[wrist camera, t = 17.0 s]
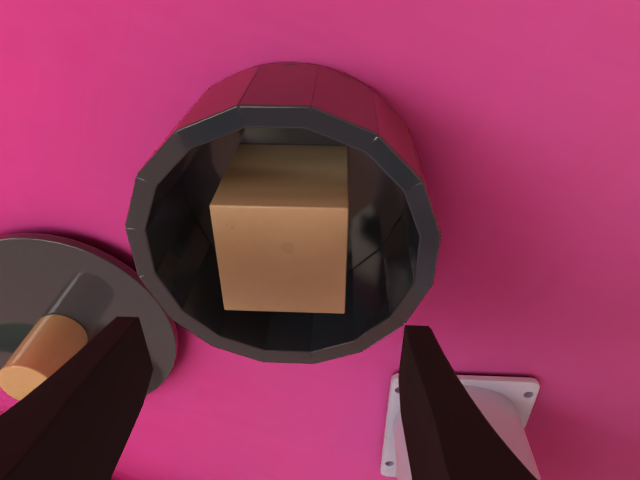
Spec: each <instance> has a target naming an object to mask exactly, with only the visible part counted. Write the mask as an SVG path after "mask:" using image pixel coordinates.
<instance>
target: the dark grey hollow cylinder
mask: <svg viewBox="0 0 640 480" xmlns="http://www.w3.org/2000/svg"><path fill="white" fill-rule="evenodd" d="M239 144H259V145H315V146H348V166H349V217H348V243H347V270H346V296H345V313H344V314H339V313H307V312H274V311H242V310H225V309H224V304H223V297H222V290H221V283H220V276H219V269H218V262H217V255H216V249H215V242H214V235H213V228H212V221H211V214H210V207H209V206H210V203H211V201H212V199H213V197H214V195H215V193H216V191H217V189H218V186H219V184H220V182H221V180H222V178H223V176H224V174H225V172H226V170H227V167H228V165H229V163H230V161H231V159H232V157H233V155H234V153H235V151H236V149H237V146H238V145H239ZM126 232H127V236H128V240H129V244H130V248H131V251H132V255H133V259H134V263H135V267H136V270H137V274H138V276H139V278H140V280H141V281H142V282H143V283H144V285H145V286H146V287H147V289H148V290H149V291H150V293H151V294H152V295H153V297H154V298H155V299H156V300H157V302H158V303H159V304H160V306H161V307H162V308H163V310H164V311H165V312H166V314H167V315H168V316H170V318H171V319H172V320H174V321H175V322H177V323H178V324H180V325H181V326H183V327H184V328H186V329H187V330H188V331H190V332H191V333H193V334H194V335H196V336H197V337H199V338H200V339H202V340H203V341H205V342H206V343H208V344H209V345H211V346H213V347H216V348H219V349H223V350H226V351H229V352H232V353H235V354H238V355H242V356H245V357H248V358H251V359H254V360H257V361H262V362H274V363H302V364H313V363H314V364H316V363H319V362H323V361H327V360H331V359H335V358H339V357H343V356H347V355H351V354H355V353H359V352H362V351H363V350H365V349H367V348H369V347H370V346H372V345H373V344H375V343H376V342H378V341H379V340H381V339H383V338H384V337H386V336H387V335H389V334H390V333H392V332H394V331H395V330H397V329H398V328H400V327H401V326H403V325H404V324H405V323H406V322H407V320H408V319H409V317H410V316H411V315H412V313H413V312H414V310H415V309H416V307H417V306H418V305H419V303H420V302H421V300H422V299H423V298H424V296H425V295H426V293H427V292H428V291H429V289H430V288H431V286H432V285H433V282H434V276H435V270H436V264H437V258H438V252H439V246H440V240H441V232H440V228H439V225H438V221H437V218H436V215H435V211H434V208H433V205H432V201H431V198H430V195H429V191H428V188H427V184H426V181H425V178H424V174H423V171H422V168H421V165H420V162H419V159H418V156H417V153H416V150H415V147H414V144H413V141H412V138H411V134H410V131H409V129H408V128H407V126H406V125H405V124H404V123H403V122H402V120H401V119H400V117H399V116H398V115H397V114H396V112H395V111H394V110H393V109H392V107H391V106H390V105H389V104H388V103H387V102H386V101H385V100H384V99H383V98H382V97H381V96H380V95H378V94H377V93H376V92H375V91H374V90H372V89H371V88H370V87H368V86H366V85H365V84H364V83H362V82H360V81H358V80H356V79H354V78H353V77H351V76H349V75H347V74H345V73H342V72H339V71H336V70H334V69H331V68H328V67H323V66H319V65H314V64H310V63H297V62H282V63H270V64H265V65H258V66H255V67H252V68H249V69H246V70H243V71H240V72H237V73H235V74H234V75H232V76H230V77H228V78H226V79H224V80H222V81H221V82H219V83H217V84H214V85H212V86H211V87H210V88H208V90H207V91H206V92H205V93H204V94H203V95H202V96H201V98H200V99H199V100H198V101H197V102H196V103H195V104H194V106H193V107H192V108H191V109H190V110H189V111H188V113H187V114H186V115H185V116H184V117H183V118H182V119H181V121H180V122H179V123H178V124H177V125H176V127H175V128H174V129H173V130H172V131H171V133H170V134H169V135H168V136H167V138H166V139H165V140H164V141H163V142H162V144H161V145H160V146H159V147H158V149H157V150H156V151H155V152H154V154H153V155H152V156H151V157H150V158H149V160H148V161H147V162H146V163H145V165H144V166H143V167H142V168H141V169H140V171H139V172H138V174H137V176H136V179H135V184H134V188H133V193H132V197H131V202H130V206H129V211H128V215H127V220H126Z"/></svg>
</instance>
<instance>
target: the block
mask: <svg viewBox="0 0 640 480" xmlns="http://www.w3.org/2000/svg"><path fill="white" fill-rule="evenodd" d="M209 207H210V214H211V221H212V228H213V235H214V242H215V249H216V255H217V262H218V269H219V276H220V283H221V290H222V297H223V304H224V309H225V310H242V311H274V312H307V313H339V314H344V313H345V296H346V270H347V243H348V217H349V166H348V146H315V145H259V144H239V145H238V146H237V149H236V151H235V153H234V155H233V157H232V159H231V161H230V163H229V165H228V167H227V170H226V172H225V174H224V176H223V178H222V180H221V182H220V184H219V186H218V189H217V191H216V193H215V195H214V197H213V199H212V201H211V203H210V206H209Z"/></svg>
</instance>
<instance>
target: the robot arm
mask: <svg viewBox="0 0 640 480" xmlns="http://www.w3.org/2000/svg"><path fill="white" fill-rule="evenodd" d="M152 372H153V366H152V362H151V358H150V355H149V351H148V348H147V344H146V340H145V337H144V333H143V329H142V326H141V322H140V319H139V317H123V316H117V317H116V318H115V319H114V320H112V321H111V322H110V323H109V324H108V325H107V326H106V327H105V328H104V329H102V330H101V331H100V332H99V333H98V334H97V335H96V336H95V337H94V338H93V339H91V340H90V341H89V342H88V343H87V344H86V345H85V346H84V347H83V348H82V349H80V350H79V351H78V352H77V353H76V354H75V355H74V356H73V357H72V358H70V359H69V360H68V361H67V362H66V363H65V364H64V365H63V366H61V367H60V368H59V369H58V370H57V371H56V372H55V373H53V374H52V375H51V376H50V377H49V378H47V379H46V380H45V381H44V382H42V383H41V384H40V385H39V386H38V387H36V388H35V389H34V390H33V391H31V392H30V393H29V394H28V395H27V396H25V397H24V398H23V399H22V400H20V401H19V402H18V403H16V404H15V405H14V406H13V407H11V408H10V409H9V410H7V411H6V412H4V413H3V414H2V415H0V480H110V479H111V477H112V474H113V472H114V470H115V468H116V465H117V463H118V461H119V458H120V456H121V454H122V452H123V449H124V447H125V445H126V443H127V440H128V438H129V436H130V434H131V431H132V429H133V427H134V424H135V422H136V420H137V417H138V415H139V413H140V410H141V408H142V406H143V403H144V400H145V397H146V393H147V390H148V387H149V383H150V380H151V376H152ZM398 387H399V388H398ZM539 389H540V385H539V383H538V381H537V379H535V378H531V377H504V376H476V375H456V373H455V372H454V370H453V368H452V367H451V365H450V363H449V362H448V360H447V358H446V356H445V355H444V353H443V351H442V349H441V347H440V345H439V343H438V342H437V340H436V338H435V336H434V333H433V331H432V329H431V328H430V327H429V326H410V325H405V330H404V337H403V345H402V353H401V361H400V368H399V373H396V374H394V375H393V376H392V377H391V381H390V390H389V398H388V407H387V415H386V423H385V432H384V440H383V448H382V457H381V465H380V471H381V474H382V475H384V476H387V477H397V480H541V477H540V474H539V471H538V469H537V466H536V463H535V460H534V457H533V454H532V451H531V448H530V445H529V443H528V440H527V437H526V434H525V431H524V429H525V426H526V424H527V421H528V418H529V416H530V413H531V410H532V408H533V405H534V403H535V400H536V397H537V395H538V392H539Z"/></svg>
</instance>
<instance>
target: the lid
mask: <svg viewBox="0 0 640 480" xmlns="http://www.w3.org/2000/svg"><path fill="white" fill-rule="evenodd" d="M117 316H123V317H139V319H140V322H141V326H142V329H143V333H144V337H145V340H146V344H147V348H148V351H149V355H150V358H151V362H152V366H153V372H152V376H151V380H150V383H149V387H148V390H147V393H146V395H147V394H149V393H151V392H152V391H154V390H155V389H157V388H158V387H159V386H160V385H161V384H162V383H163V382H164V381H165V380H166V378H167V377H168V376H169V374H170V372H171V370H172V368H173V366H174V364H175V361H176V357H177V353H178V343H179V340H178V333H177V328H176V325H175V322H174V320H172V319H171V318H170V316H168V315H167V314H166V312H165V311H164V310H163V308H162V307H161V306H160V304H159V303H158V302H157V300H156V299H155V298H154V297H153V295H152V294H151V293H150V291H149V290H148V289H147V287H146V286H145V285H144V283H143V282H142V281H141V280H140V278H139V276H138V274H137V272H136V271H134V270H133V269H132V268H130V267H129V266H128V265H126V264H125V263H123V262H122V261H120V260H118V259H117V258H115V257H114V256H112V255H110V254H108V253H106V252H104V251H102V250H100V249H98V248H95V247H93V246H90V245H88V244H85V243H83V242H80V241H76V240H73V239H69V238H66V237H61V236H56V235H50V234H42V233H12V234H5V235H0V387H1V389H2V390H3V391H4V392H5V393H7V394H8V395H9V396H11V397H13V398H15V399H17V400H19V401H20V400H22V399H23V398H24V397H25V396H27V395H28V394H29V393H30V392H31V391H33V390H34V389H35V388H36V387H38V386H39V385H40V384H41V383H42V382H44V381H45V380H46V379H47V378H49V377H50V376H51V375H52V374H53V373H55V372H56V371H57V370H58V369H59V368H60V367H61V366H63V365H64V364H65V363H66V362H67V361H68V360H69V359H70V358H72V357H73V356H74V355H75V354H76V353H77V352H78V351H79V350H80V349H82V348H83V347H84V346H85V345H86V344H87V343H88V342H89V341H90V340H91V339H93V338H94V337H95V336H96V335H97V334H98V333H99V332H100V331H101V330H102V329H104V328H105V327H106V326H107V325H108V324H109V323H110V322H111V321H112V320H114V319H115V318H116V317H117Z"/></svg>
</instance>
